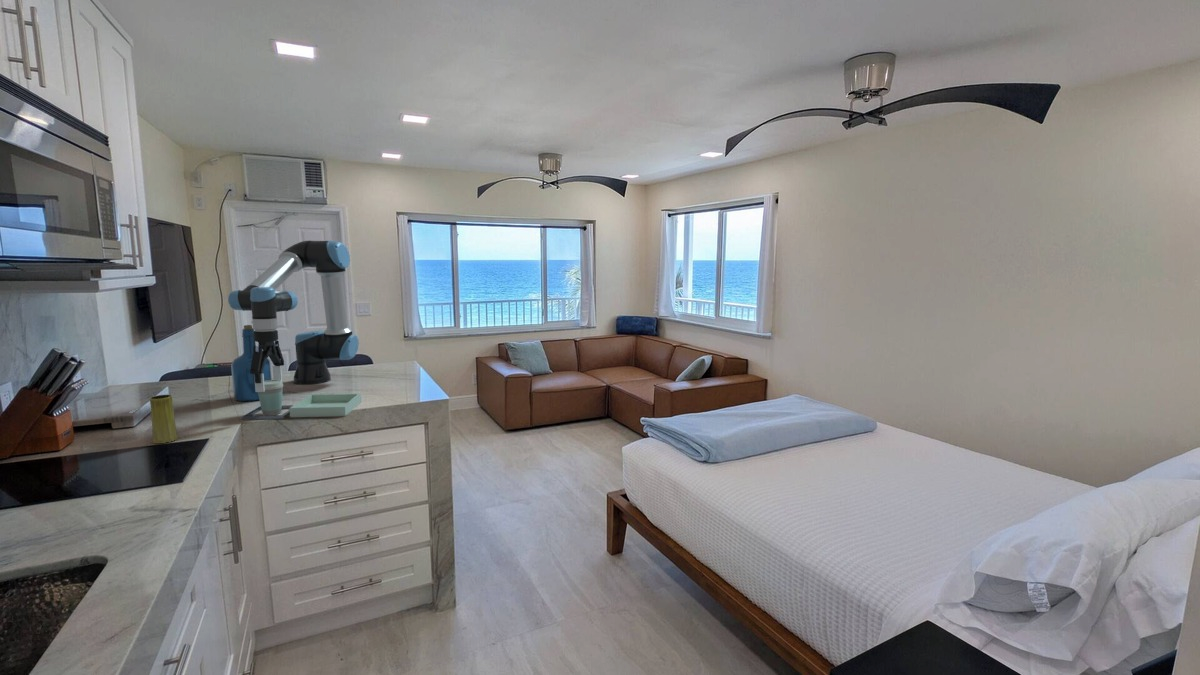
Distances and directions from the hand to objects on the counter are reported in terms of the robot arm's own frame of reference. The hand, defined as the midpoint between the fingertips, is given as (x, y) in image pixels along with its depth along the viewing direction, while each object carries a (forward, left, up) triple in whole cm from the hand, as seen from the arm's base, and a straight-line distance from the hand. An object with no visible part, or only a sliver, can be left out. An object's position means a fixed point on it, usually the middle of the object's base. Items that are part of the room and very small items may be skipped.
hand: (269, 387), depth 189 cm
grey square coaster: (0, 0, -10) cm, 10 cm away
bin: (-4, +18, -10) cm, 21 cm away
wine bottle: (-23, -17, -10) cm, 31 cm away
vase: (+27, -19, -10) cm, 34 cm away
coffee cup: (0, 0, -10) cm, 10 cm away
